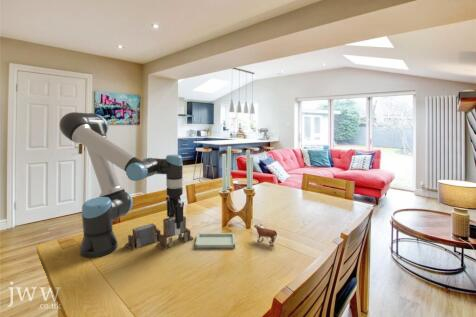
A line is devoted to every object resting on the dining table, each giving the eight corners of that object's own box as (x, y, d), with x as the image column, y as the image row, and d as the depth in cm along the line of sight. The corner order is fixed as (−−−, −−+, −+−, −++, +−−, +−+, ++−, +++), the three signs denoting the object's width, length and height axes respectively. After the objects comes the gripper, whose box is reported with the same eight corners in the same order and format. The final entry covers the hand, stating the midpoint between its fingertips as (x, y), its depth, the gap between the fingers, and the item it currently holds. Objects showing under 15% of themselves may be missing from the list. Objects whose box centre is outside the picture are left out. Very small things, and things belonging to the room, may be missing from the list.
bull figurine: (255, 236, 132) (256, 221, 131) (278, 244, 123) (278, 228, 122) (250, 239, 128) (251, 223, 127) (273, 247, 120) (274, 231, 119)
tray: (194, 248, 117) (194, 245, 117) (197, 236, 130) (197, 233, 130) (235, 248, 118) (235, 244, 118) (234, 236, 131) (234, 233, 131)
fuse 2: (167, 237, 118) (167, 221, 117) (163, 235, 121) (163, 219, 120) (185, 232, 125) (185, 216, 124) (181, 229, 128) (181, 214, 127)
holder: (130, 250, 115) (129, 240, 114) (125, 245, 119) (125, 235, 119) (163, 239, 126) (163, 230, 125) (157, 235, 131) (157, 226, 130)
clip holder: (163, 249, 116) (162, 239, 115) (157, 245, 120) (156, 235, 120) (193, 239, 127) (193, 230, 126) (186, 235, 131) (186, 226, 131)
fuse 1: (136, 247, 118) (135, 231, 117) (133, 244, 121) (132, 228, 120) (156, 240, 125) (156, 225, 124) (153, 238, 128) (152, 223, 126)
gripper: (190, 189, 116) (190, 236, 119) (172, 182, 129) (173, 225, 132) (176, 191, 111) (176, 241, 114) (159, 184, 124) (160, 229, 127)
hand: (175, 232), depth 123 cm, fingers closed on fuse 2, 4 cm apart
